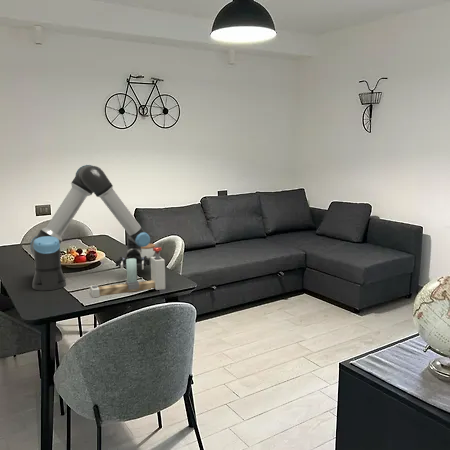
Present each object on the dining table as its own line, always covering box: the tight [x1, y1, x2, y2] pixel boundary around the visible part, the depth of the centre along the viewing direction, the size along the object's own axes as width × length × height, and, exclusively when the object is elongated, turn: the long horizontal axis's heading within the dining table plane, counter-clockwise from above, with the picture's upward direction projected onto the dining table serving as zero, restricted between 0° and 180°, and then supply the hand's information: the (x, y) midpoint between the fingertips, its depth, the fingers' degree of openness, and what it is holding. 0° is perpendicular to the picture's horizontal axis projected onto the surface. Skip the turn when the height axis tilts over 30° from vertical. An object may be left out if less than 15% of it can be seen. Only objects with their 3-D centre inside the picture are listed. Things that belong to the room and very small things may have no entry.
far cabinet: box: [150, 256, 166, 291], centre depth 219 cm, size 4×9×14 cm, turn 24°
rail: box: [98, 279, 155, 296], centre depth 214 cm, size 26×4×3 cm, turn 114°
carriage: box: [124, 258, 140, 290], centre depth 214 cm, size 5×6×13 cm
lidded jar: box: [141, 243, 156, 260], centre depth 279 cm, size 11×11×9 cm
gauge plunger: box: [153, 246, 162, 260], centre depth 218 cm, size 4×4×11 cm
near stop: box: [89, 284, 100, 299], centre depth 208 cm, size 3×7×4 cm, turn 24°
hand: (132, 267), depth 222 cm, fingers open, 9 cm apart
